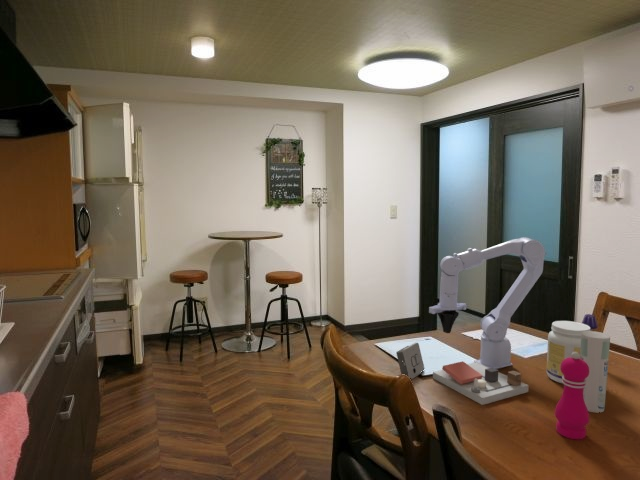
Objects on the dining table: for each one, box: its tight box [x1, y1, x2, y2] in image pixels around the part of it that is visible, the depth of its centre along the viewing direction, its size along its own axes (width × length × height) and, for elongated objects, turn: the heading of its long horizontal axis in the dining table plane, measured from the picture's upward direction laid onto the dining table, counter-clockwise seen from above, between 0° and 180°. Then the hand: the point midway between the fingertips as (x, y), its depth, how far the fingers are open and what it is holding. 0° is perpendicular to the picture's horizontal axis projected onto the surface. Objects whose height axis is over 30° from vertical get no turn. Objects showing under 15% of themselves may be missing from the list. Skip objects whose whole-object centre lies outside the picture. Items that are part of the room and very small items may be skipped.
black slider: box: [485, 368, 499, 383], centre depth 135 cm, size 3×2×3 cm
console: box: [432, 362, 529, 406], centre depth 137 cm, size 18×20×6 cm
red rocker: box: [441, 361, 482, 384], centre depth 136 cm, size 8×8×1 cm
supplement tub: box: [545, 320, 590, 384], centre depth 141 cm, size 12×12×17 cm
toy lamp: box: [581, 313, 598, 331], centre depth 153 cm, size 5×5×17 cm
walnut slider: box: [506, 370, 522, 386], centre depth 133 cm, size 2×3×3 cm
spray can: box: [580, 331, 611, 414], centre depth 122 cm, size 6×6×20 cm
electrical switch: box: [396, 342, 425, 380], centre depth 146 cm, size 9×5×9 cm, turn 141°
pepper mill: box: [554, 352, 590, 440], centre depth 109 cm, size 7×7×20 cm
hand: (446, 332), depth 154 cm, fingers closed
